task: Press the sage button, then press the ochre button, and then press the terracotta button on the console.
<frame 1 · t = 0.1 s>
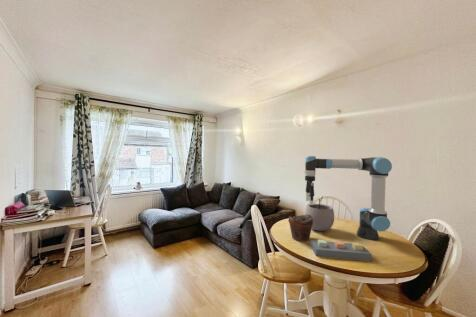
hand: (309, 202, 159), 28 cm above the table, fingers open, 13 cm apart
plant pot: (319, 229, 178), on the table
console: (339, 253, 134), on the table
ochre button: (357, 246, 133), point 5 cm above the table, slide at 0.0 cm
sage button: (322, 243, 136), point 5 cm above the table, slide at 0.0 cm
terracotta button: (339, 245, 134), point 5 cm above the table, slide at 0.0 cm
brown tapered container: (299, 238, 158), on the table
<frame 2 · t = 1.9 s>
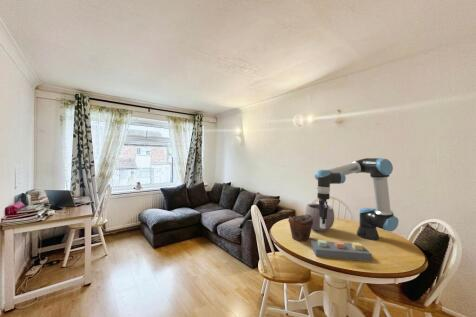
hand: (322, 227, 136), 16 cm above the table, fingers closed
nothing on the table moved.
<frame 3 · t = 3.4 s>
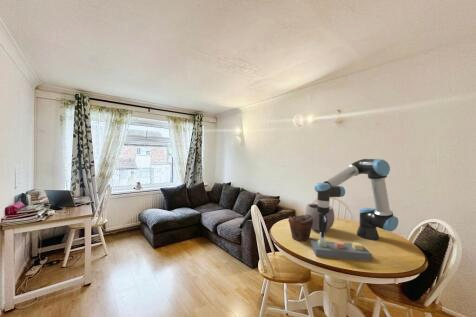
hand: (321, 241, 136), 7 cm above the table, fingers closed
sage button: (322, 244, 136), point 5 cm above the table, slide at 0.2 cm, touching gripper
everything else where it was.
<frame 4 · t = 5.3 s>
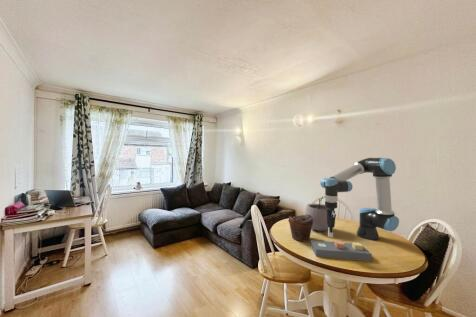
hand: (330, 236, 135), 11 cm above the table, fingers closed
sage button: (322, 247, 136), point 3 cm above the table, slide at 2.5 cm
everything else where it was.
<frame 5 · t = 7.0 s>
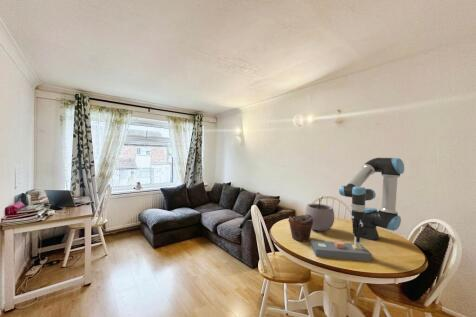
hand: (356, 246, 133), 6 cm above the table, fingers closed
ochre button: (357, 249, 133), point 4 cm above the table, slide at 1.7 cm, touching gripper
everything else where it was.
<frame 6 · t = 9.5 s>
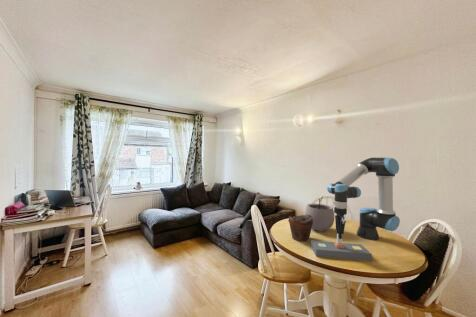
hand: (339, 242, 134), 7 cm above the table, fingers closed
ochre button: (357, 250, 133), point 3 cm above the table, slide at 2.5 cm
terracotta button: (339, 245, 134), point 5 cm above the table, slide at 0.4 cm, touching gripper
everything else where it was.
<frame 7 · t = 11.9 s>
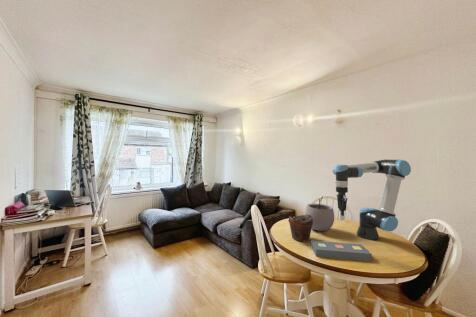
hand: (341, 219, 144), 20 cm above the table, fingers closed
terracotta button: (339, 249, 134), point 3 cm above the table, slide at 2.5 cm
everything else where it was.
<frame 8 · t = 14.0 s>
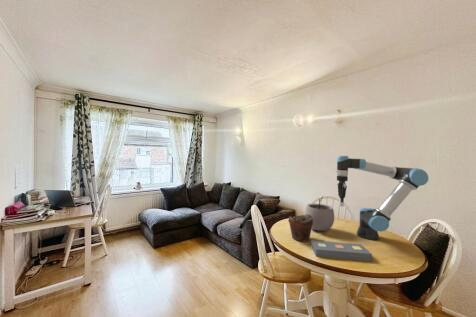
hand: (341, 206, 157), 26 cm above the table, fingers closed
nothing on the table moved.
at the end: sage button slide at 2.5 cm; ochre button slide at 2.5 cm; terracotta button slide at 2.5 cm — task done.
